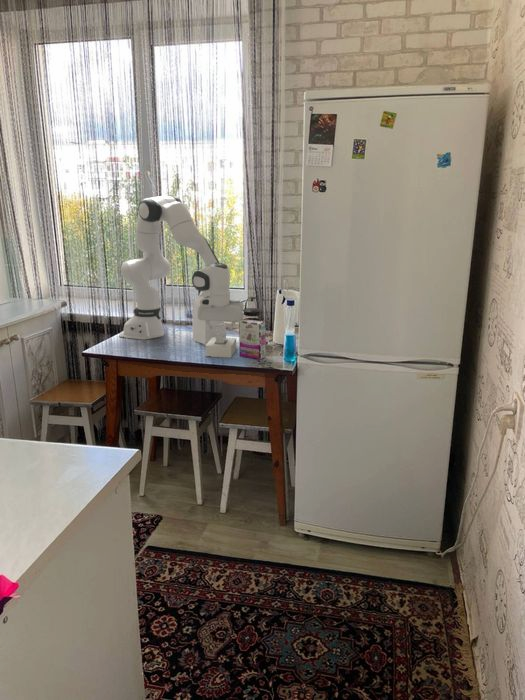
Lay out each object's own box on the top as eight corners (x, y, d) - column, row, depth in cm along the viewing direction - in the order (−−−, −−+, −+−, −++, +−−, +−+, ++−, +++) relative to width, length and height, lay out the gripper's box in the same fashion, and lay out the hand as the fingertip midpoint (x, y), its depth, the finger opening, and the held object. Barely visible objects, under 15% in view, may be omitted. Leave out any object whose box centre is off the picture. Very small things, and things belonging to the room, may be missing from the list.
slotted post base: (205, 356, 233) (205, 345, 231) (212, 347, 246) (212, 337, 244) (231, 357, 231) (231, 346, 230) (236, 348, 245) (236, 338, 243)
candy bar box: (266, 357, 231) (266, 321, 227) (260, 360, 227) (260, 324, 222) (244, 353, 237) (244, 318, 232) (238, 356, 233) (238, 320, 228)
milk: (205, 345, 250) (203, 291, 242) (192, 339, 258) (190, 287, 251) (225, 340, 257) (224, 288, 250) (212, 335, 266) (211, 285, 258)
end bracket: (216, 354, 236) (215, 326, 232) (218, 350, 242) (218, 323, 238) (223, 354, 236) (223, 326, 232) (226, 350, 241) (225, 323, 237)
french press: (248, 340, 257) (247, 294, 251) (265, 342, 254) (265, 295, 247) (237, 346, 247) (236, 298, 240) (255, 349, 244) (255, 300, 237)
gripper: (244, 299, 233) (244, 329, 238) (199, 297, 236) (200, 327, 240) (242, 302, 227) (242, 332, 232) (196, 300, 230) (197, 331, 234)
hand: (220, 330), depth 236 cm, fingers open, 8 cm apart
